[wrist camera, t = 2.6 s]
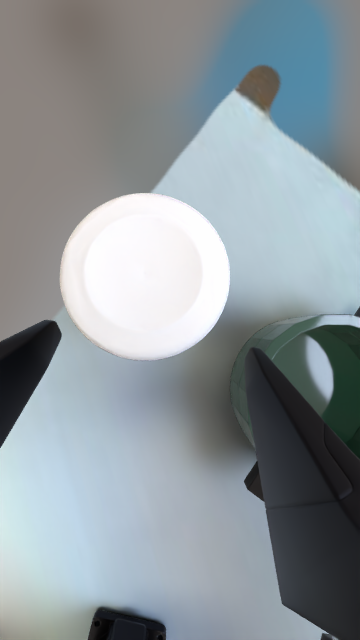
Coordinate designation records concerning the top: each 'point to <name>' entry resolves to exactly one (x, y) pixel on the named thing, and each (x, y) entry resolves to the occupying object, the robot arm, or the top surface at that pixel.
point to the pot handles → (254, 476)
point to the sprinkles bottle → (145, 276)
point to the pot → (311, 369)
